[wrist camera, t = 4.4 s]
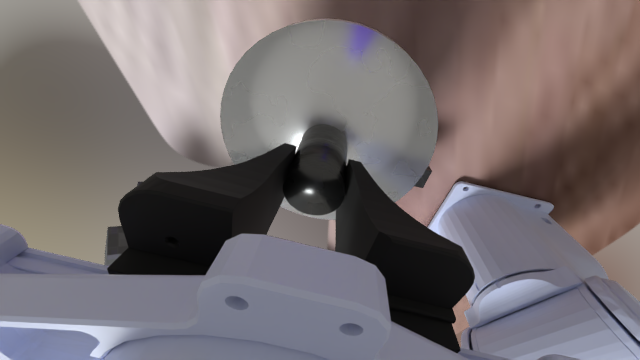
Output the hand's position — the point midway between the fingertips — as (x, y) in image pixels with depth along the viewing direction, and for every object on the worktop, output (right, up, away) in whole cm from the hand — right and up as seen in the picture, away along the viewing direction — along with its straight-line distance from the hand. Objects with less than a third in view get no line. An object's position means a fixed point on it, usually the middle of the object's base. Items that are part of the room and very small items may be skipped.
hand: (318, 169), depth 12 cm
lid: (+1, +3, +3) cm, 4 cm away
